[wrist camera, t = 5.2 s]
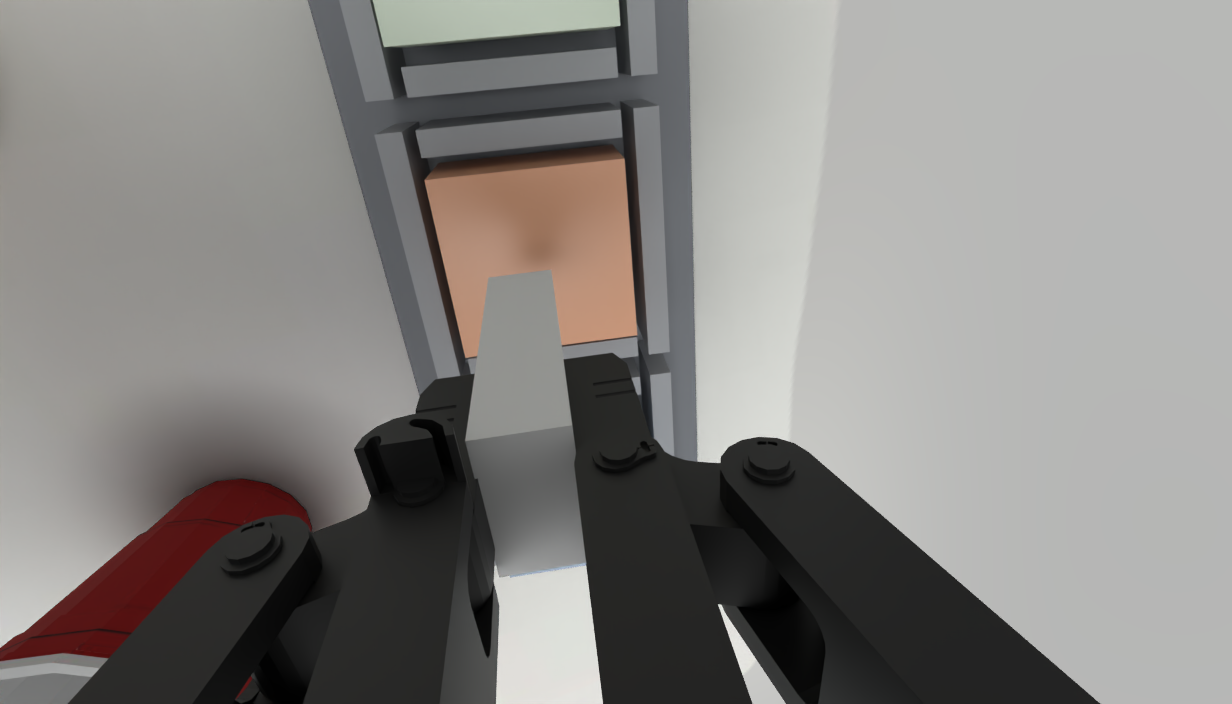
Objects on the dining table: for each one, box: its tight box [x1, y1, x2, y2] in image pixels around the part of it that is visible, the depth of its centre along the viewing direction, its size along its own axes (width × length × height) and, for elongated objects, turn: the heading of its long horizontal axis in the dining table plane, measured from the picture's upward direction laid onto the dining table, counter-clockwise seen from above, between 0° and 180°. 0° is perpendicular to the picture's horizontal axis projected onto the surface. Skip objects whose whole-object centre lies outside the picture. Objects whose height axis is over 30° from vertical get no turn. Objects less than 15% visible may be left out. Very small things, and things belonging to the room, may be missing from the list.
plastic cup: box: [0, 479, 312, 704], centre depth 23 cm, size 11×11×12 cm
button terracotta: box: [424, 145, 637, 358], centre depth 20 cm, size 6×6×3 cm
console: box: [308, 0, 697, 566], centre depth 19 cm, size 38×12×4 cm, turn 5°
